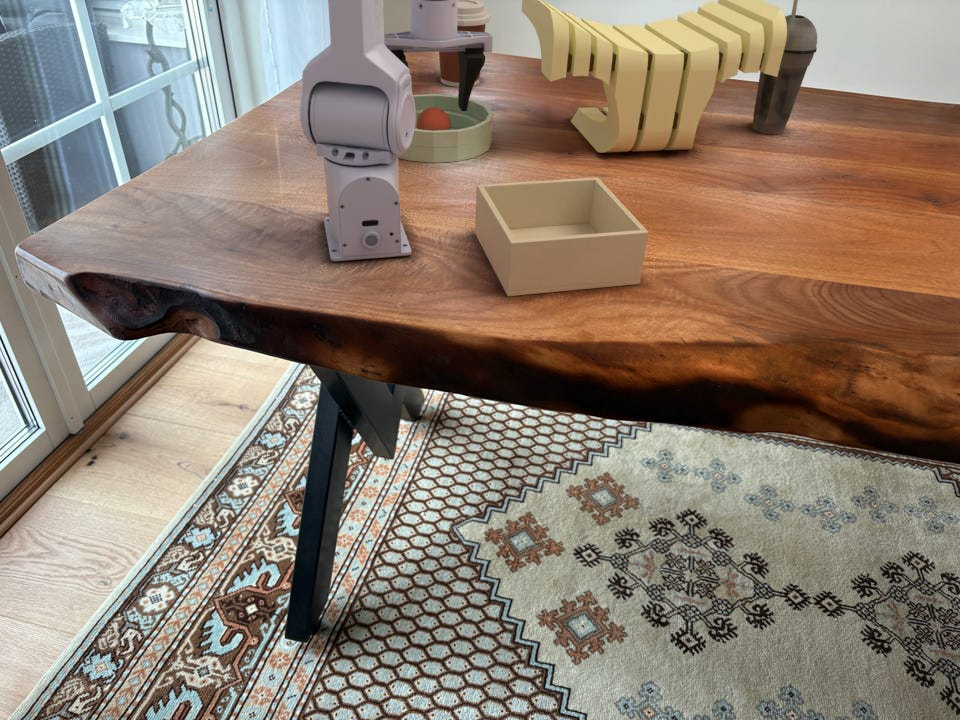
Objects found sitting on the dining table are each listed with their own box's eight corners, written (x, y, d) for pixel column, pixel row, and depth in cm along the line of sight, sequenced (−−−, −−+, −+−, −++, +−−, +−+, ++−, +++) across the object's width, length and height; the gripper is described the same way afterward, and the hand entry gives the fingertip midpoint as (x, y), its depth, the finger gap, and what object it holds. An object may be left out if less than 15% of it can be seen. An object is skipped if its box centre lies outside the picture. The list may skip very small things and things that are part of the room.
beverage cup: (804, 135, 111) (848, -17, 100) (764, 139, 109) (803, -15, 97) (771, 119, 117) (809, -27, 105) (732, 123, 115) (766, -25, 103)
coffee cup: (421, 80, 127) (420, 1, 120) (457, 70, 132) (459, -6, 125) (462, 92, 122) (464, 11, 115) (498, 81, 128) (502, 3, 121)
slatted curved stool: (543, 163, 98) (556, 14, 88) (514, 122, 111) (522, -13, 101) (757, 155, 104) (793, 13, 94) (706, 116, 117) (733, -12, 106)
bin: (639, 284, 74) (649, 232, 71) (507, 296, 71) (511, 242, 68) (591, 224, 84) (598, 177, 81) (474, 233, 81) (476, 184, 78)
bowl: (503, 163, 98) (505, 129, 95) (384, 170, 95) (383, 134, 92) (475, 124, 110) (476, 92, 107) (369, 129, 107) (368, 96, 104)
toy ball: (453, 146, 101) (453, 112, 98) (420, 148, 100) (419, 114, 97) (446, 134, 104) (446, 102, 102) (414, 136, 103) (414, 103, 101)
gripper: (484, -11, 96) (480, 98, 104) (368, -11, 93) (373, 102, 101) (499, 0, 91) (493, 115, 99) (376, 2, 88) (381, 120, 96)
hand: (433, 110), depth 100 cm, fingers open, 7 cm apart
